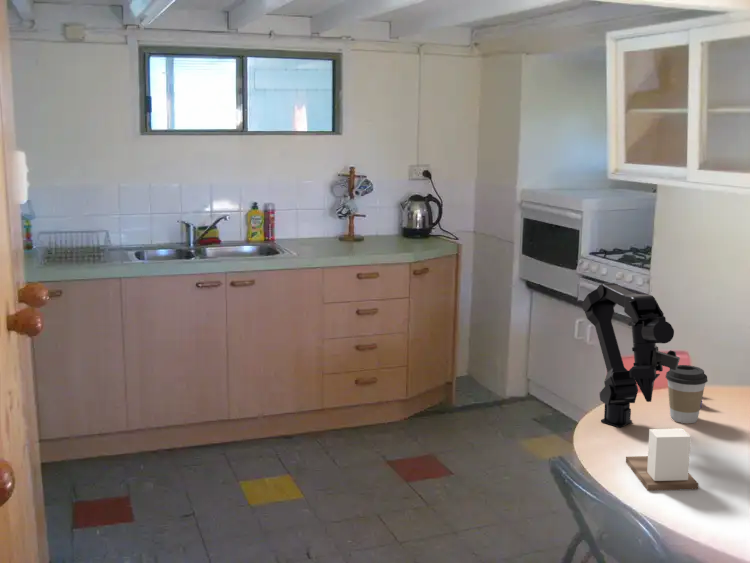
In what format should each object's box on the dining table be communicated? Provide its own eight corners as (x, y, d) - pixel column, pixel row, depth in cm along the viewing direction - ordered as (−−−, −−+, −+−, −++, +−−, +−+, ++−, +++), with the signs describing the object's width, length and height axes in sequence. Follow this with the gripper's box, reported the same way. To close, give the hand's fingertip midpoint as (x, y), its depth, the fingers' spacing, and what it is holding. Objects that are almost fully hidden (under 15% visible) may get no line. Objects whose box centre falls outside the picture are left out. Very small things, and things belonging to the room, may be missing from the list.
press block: (646, 470, 198) (648, 428, 195) (678, 470, 198) (681, 427, 196) (654, 481, 192) (656, 437, 190) (687, 480, 192) (690, 436, 190)
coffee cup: (701, 413, 239) (704, 364, 236) (708, 427, 228) (711, 376, 225) (660, 411, 242) (663, 362, 238) (665, 425, 231) (668, 375, 228)
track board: (625, 462, 207) (626, 456, 207) (672, 460, 207) (672, 455, 207) (647, 490, 191) (647, 484, 191) (697, 489, 192) (698, 483, 191)
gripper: (672, 343, 204) (677, 405, 203) (679, 339, 220) (684, 397, 220) (626, 345, 208) (631, 406, 208) (637, 341, 225) (641, 397, 225)
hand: (649, 401), depth 215 cm, fingers closed
